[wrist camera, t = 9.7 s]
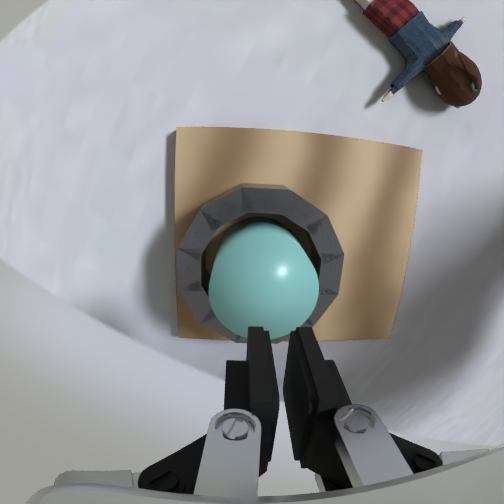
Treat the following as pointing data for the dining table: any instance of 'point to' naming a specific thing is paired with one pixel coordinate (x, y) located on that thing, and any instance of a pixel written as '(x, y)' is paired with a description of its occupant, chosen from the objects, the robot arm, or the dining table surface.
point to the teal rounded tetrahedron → (262, 279)
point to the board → (321, 196)
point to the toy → (425, 51)
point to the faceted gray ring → (256, 201)
